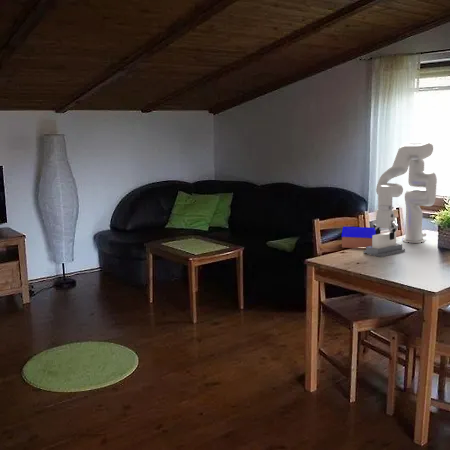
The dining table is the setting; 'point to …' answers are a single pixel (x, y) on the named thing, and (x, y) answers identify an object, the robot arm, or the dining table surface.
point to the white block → (383, 240)
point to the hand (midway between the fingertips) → (384, 238)
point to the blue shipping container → (357, 237)
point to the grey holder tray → (384, 250)
